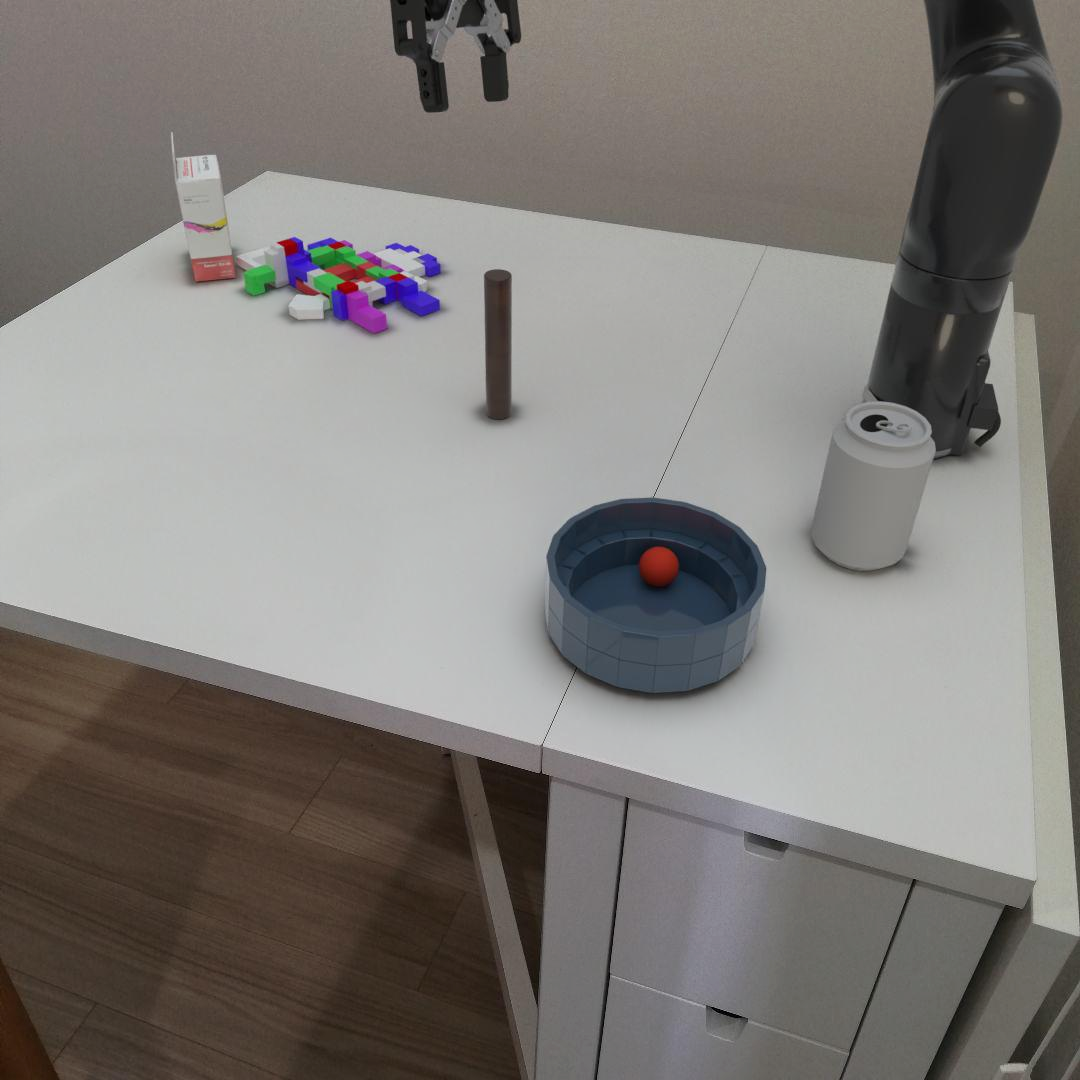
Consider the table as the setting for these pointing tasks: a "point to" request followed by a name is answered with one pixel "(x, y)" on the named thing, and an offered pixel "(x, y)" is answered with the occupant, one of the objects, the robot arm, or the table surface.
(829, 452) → the can
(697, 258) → the table surface
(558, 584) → the bowl
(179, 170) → the ink cartridge box
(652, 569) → the ball
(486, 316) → the stick
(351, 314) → the building block set
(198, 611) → the table surface
